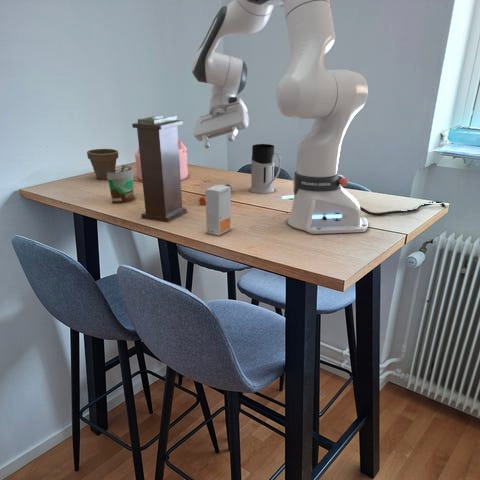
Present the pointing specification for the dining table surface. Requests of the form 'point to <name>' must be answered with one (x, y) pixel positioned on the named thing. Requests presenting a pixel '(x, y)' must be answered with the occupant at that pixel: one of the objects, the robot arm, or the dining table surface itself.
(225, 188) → the cosmetic box
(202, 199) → the marker
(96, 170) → the flower pot
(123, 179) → the food container
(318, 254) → the dining table surface
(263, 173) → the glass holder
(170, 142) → the stand
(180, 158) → the cake
